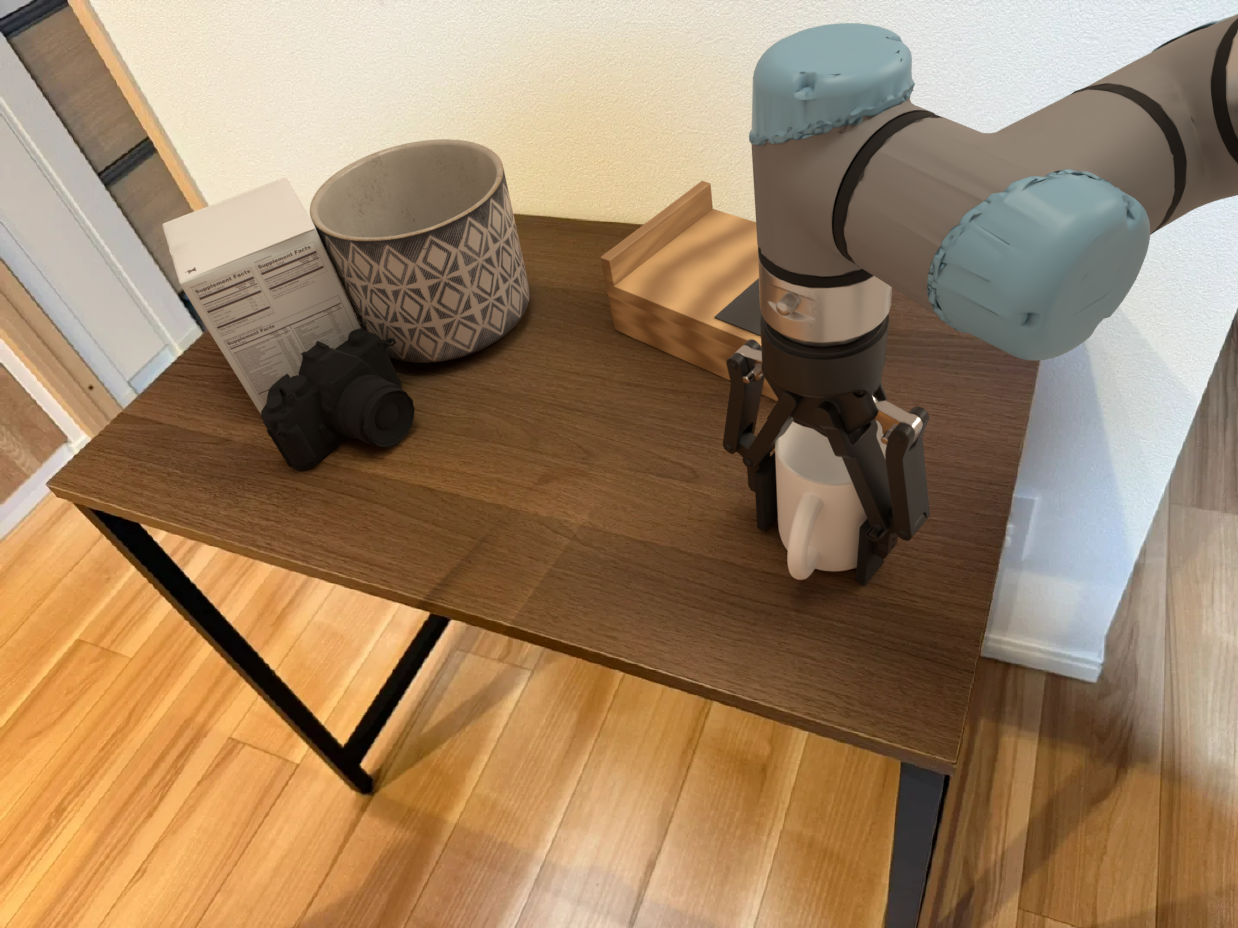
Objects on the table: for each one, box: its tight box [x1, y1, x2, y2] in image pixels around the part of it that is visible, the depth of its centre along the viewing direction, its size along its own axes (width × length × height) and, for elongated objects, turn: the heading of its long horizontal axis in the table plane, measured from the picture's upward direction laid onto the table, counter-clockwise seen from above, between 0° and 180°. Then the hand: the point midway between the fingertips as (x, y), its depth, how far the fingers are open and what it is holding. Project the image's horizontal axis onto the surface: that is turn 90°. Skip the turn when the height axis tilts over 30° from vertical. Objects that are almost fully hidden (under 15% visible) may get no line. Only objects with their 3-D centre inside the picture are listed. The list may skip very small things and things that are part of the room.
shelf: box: [600, 180, 778, 402], centre depth 86 cm, size 22×16×9 cm
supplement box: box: [161, 177, 362, 415], centre depth 89 cm, size 13×13×18 cm
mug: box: [774, 420, 887, 581], centre depth 64 cm, size 12×8×10 cm
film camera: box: [260, 327, 416, 472], centre depth 83 cm, size 15×10×9 cm, turn 144°
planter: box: [309, 138, 531, 364], centre depth 91 cm, size 19×19×16 cm
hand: (818, 544), depth 68 cm, fingers closed on mug, 8 cm apart
